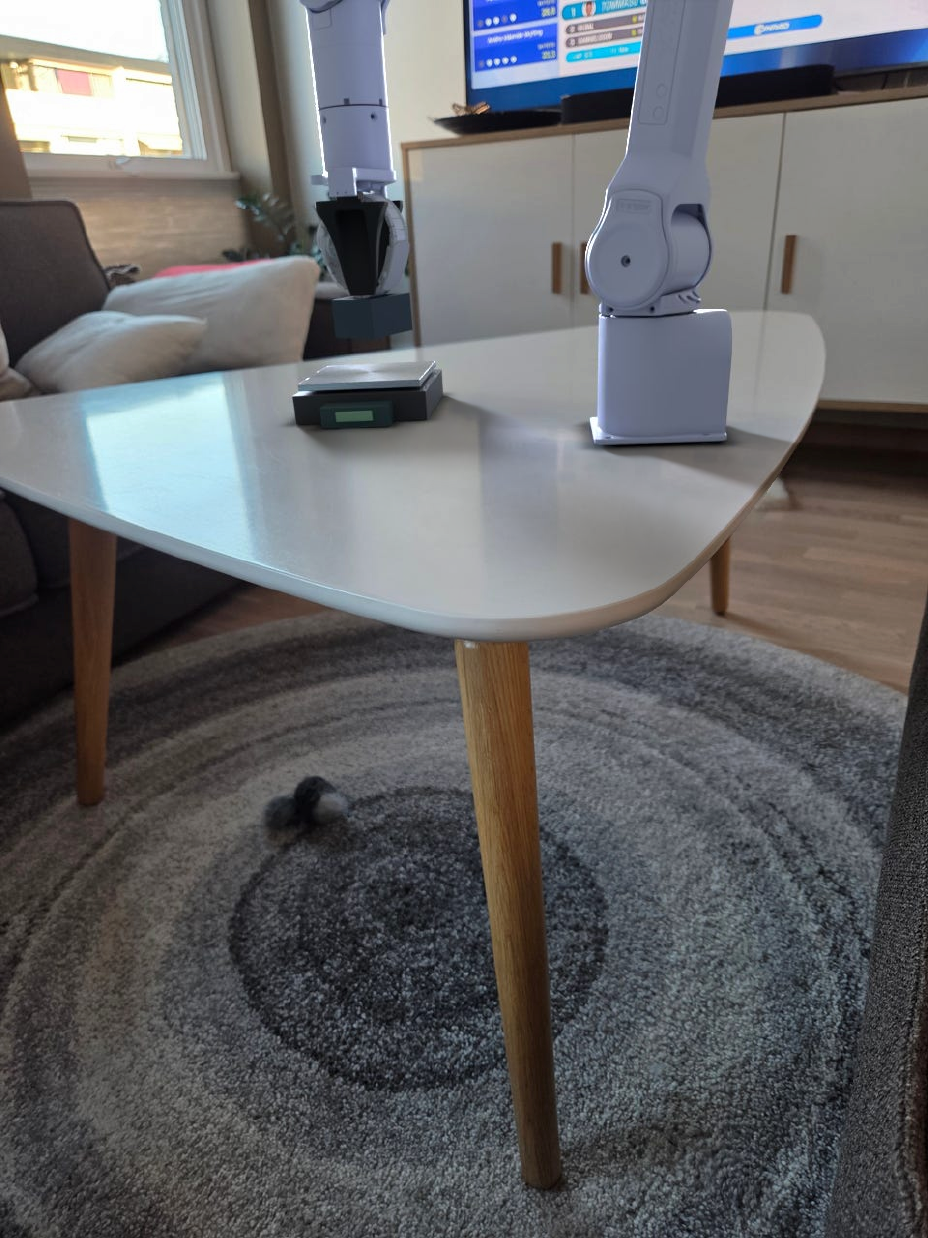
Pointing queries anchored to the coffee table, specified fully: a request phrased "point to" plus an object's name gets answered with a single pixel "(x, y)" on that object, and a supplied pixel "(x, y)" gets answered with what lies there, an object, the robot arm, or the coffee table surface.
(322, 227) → the watch
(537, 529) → the coffee table surface
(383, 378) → the scale pan
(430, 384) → the scale
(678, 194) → the robot arm
